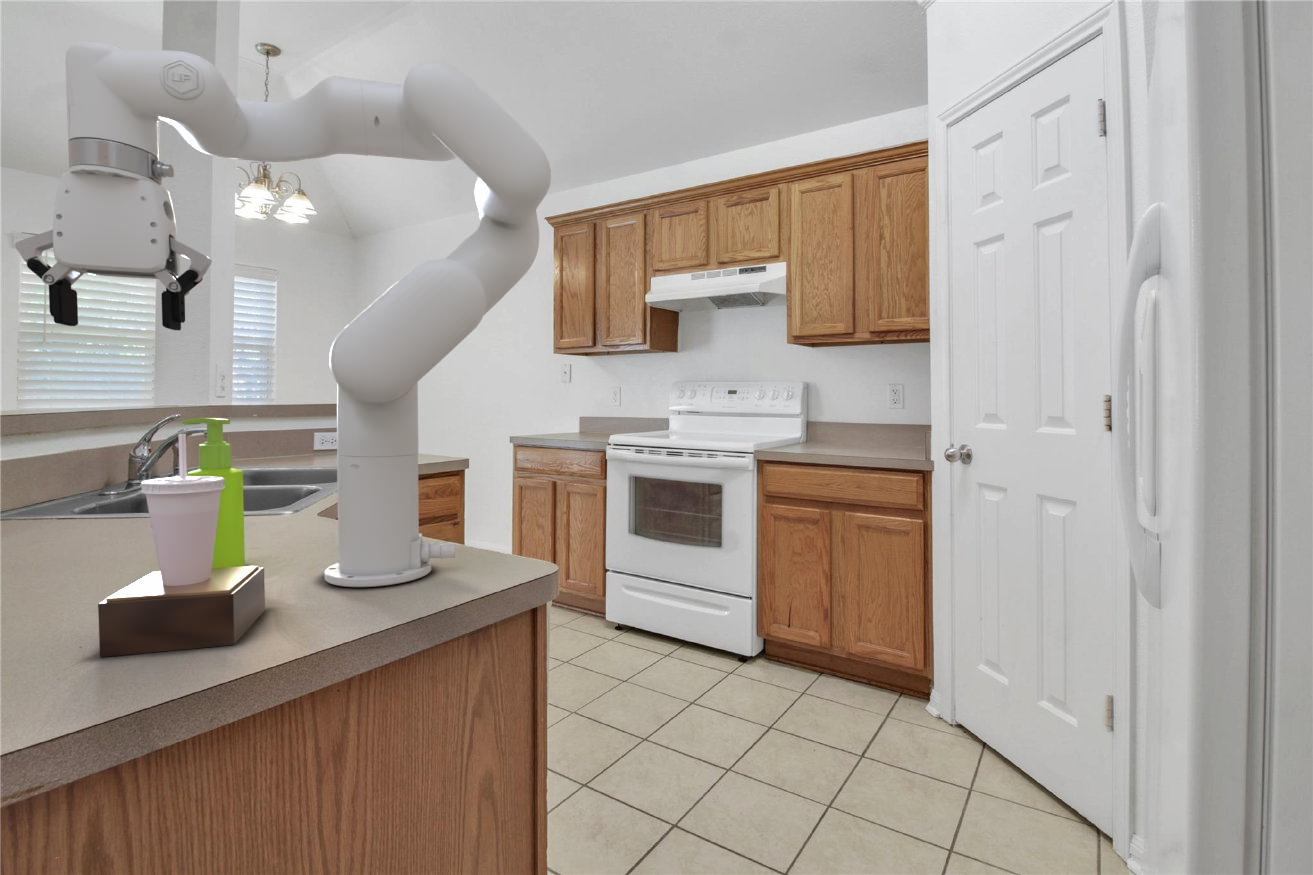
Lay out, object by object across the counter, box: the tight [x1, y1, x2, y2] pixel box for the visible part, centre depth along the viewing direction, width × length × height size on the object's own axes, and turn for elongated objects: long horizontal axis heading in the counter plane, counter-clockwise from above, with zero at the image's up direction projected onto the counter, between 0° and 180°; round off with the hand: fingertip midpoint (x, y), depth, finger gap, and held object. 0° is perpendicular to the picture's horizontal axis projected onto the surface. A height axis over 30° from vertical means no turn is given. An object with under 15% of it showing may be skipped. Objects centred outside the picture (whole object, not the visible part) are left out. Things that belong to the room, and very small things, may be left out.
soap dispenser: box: [181, 417, 246, 568], centre depth 82 cm, size 6×7×20 cm
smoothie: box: [140, 433, 225, 586], centre depth 60 cm, size 6×6×14 cm
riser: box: [97, 565, 266, 658], centre depth 60 cm, size 10×10×5 cm
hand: (120, 326), depth 70 cm, fingers open, 9 cm apart
